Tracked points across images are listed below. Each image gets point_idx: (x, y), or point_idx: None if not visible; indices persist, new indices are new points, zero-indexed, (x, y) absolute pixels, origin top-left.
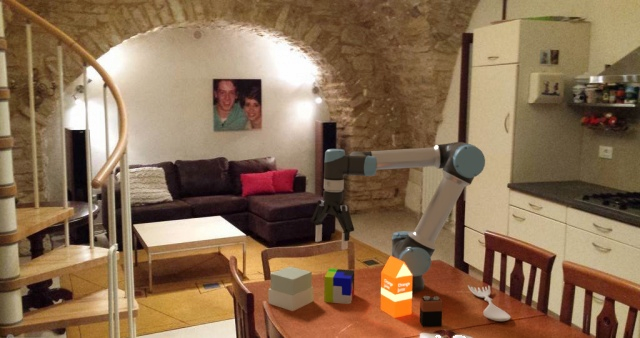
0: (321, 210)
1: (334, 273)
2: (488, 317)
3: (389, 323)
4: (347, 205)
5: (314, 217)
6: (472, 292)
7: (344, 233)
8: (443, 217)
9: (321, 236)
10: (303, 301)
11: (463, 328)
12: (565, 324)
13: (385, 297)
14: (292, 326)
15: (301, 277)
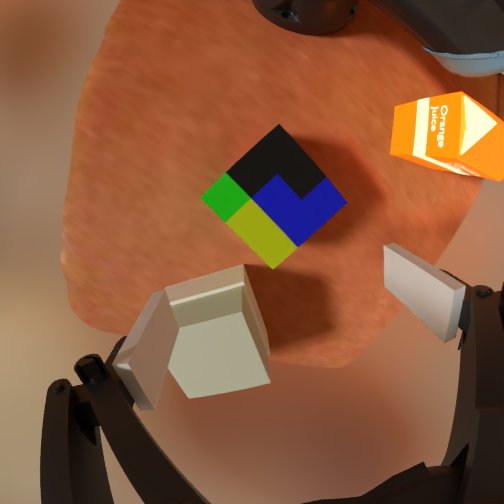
0: (77, 496)
1: (264, 216)
2: (501, 72)
3: (441, 199)
4: None
5: (100, 456)
6: None
7: (453, 324)
8: None
9: (158, 306)
10: (256, 304)
11: None
12: None
13: (428, 161)
14: (328, 359)
15: (258, 351)
